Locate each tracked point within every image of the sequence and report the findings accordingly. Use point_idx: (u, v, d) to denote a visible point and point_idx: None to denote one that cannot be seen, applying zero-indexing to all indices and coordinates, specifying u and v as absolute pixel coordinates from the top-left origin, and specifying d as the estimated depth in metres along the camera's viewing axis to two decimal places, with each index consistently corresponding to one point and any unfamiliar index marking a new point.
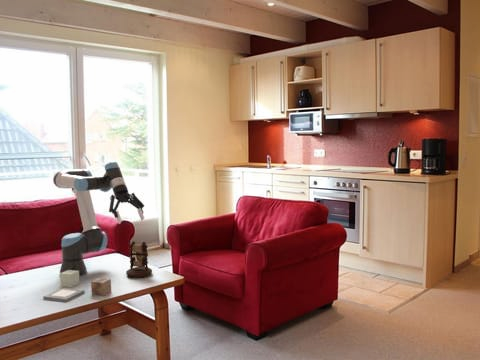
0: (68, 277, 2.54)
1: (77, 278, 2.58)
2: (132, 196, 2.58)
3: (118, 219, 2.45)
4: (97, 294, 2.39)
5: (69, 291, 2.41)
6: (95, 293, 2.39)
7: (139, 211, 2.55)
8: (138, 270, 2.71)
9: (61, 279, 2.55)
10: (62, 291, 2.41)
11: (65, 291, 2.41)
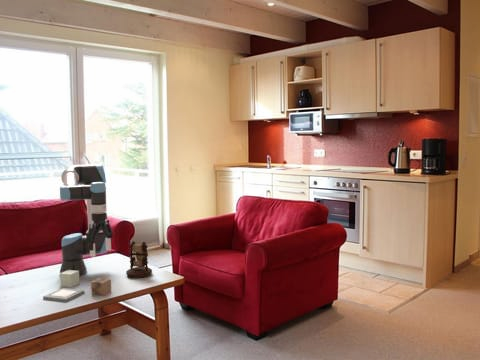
0: (68, 277, 2.54)
1: (77, 278, 2.58)
2: (106, 223, 2.44)
3: (92, 252, 2.34)
4: (97, 294, 2.39)
5: (69, 291, 2.41)
6: (95, 293, 2.39)
7: (108, 241, 2.46)
8: (138, 270, 2.71)
9: (61, 279, 2.55)
10: (62, 291, 2.41)
11: (65, 291, 2.41)
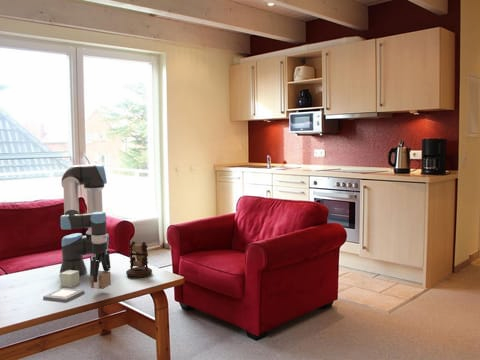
0: (68, 277, 2.54)
1: (77, 278, 2.58)
2: (106, 254, 2.45)
3: (96, 284, 2.38)
4: None
5: (69, 291, 2.41)
6: None
7: None
8: (138, 270, 2.71)
9: (61, 279, 2.55)
10: (62, 291, 2.41)
11: (65, 291, 2.41)
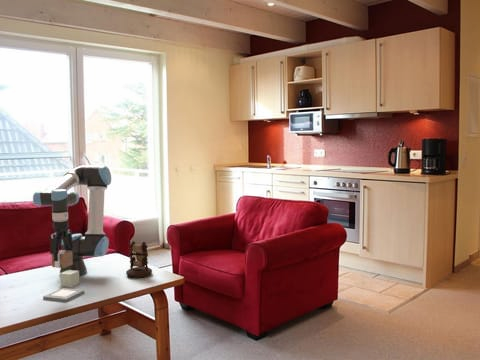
0: (68, 277, 2.54)
1: (77, 278, 2.58)
2: (68, 233, 2.40)
3: (56, 263, 2.33)
4: None
5: (69, 291, 2.41)
6: None
7: None
8: (138, 270, 2.71)
9: (61, 279, 2.55)
10: (62, 291, 2.41)
11: (65, 291, 2.41)
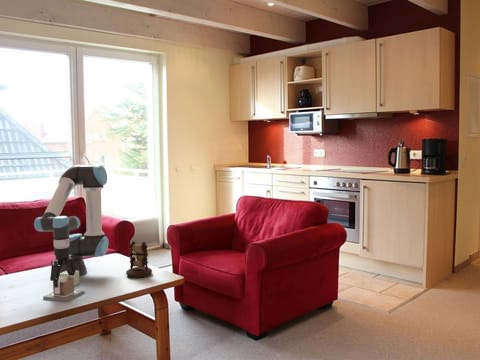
0: None
1: (77, 278, 2.58)
2: (70, 258, 2.42)
3: (57, 289, 2.34)
4: (59, 294, 2.35)
5: None
6: None
7: None
8: (138, 270, 2.71)
9: None
10: None
11: None
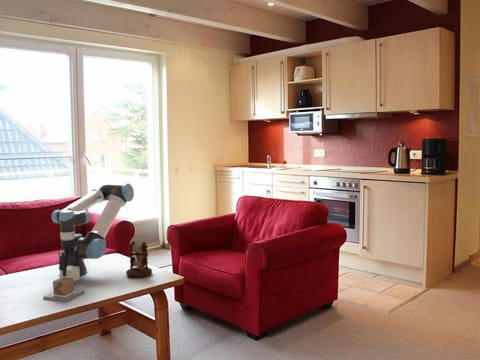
0: (68, 273, 2.54)
1: (77, 274, 2.58)
2: (75, 250, 2.61)
3: None
4: (59, 294, 2.35)
5: None
6: (57, 293, 2.36)
7: None
8: (138, 270, 2.71)
9: (61, 275, 2.56)
10: None
11: None
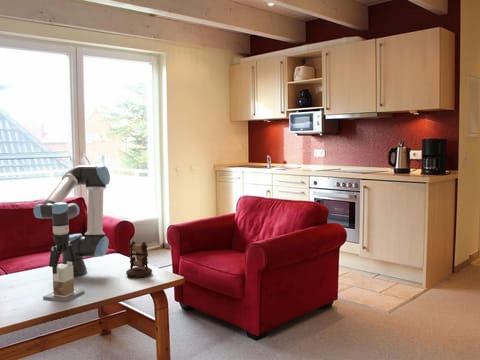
0: (61, 271, 2.34)
1: (71, 273, 2.38)
2: (69, 245, 2.41)
3: (55, 276, 2.33)
4: (59, 294, 2.35)
5: None
6: (57, 293, 2.36)
7: (69, 264, 2.42)
8: (138, 270, 2.71)
9: None
10: None
11: None
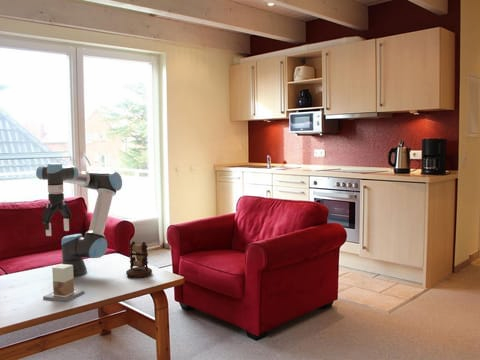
0: (61, 271, 2.34)
1: (71, 273, 2.38)
2: (64, 204, 2.49)
3: (48, 232, 2.38)
4: (59, 294, 2.35)
5: None
6: (57, 293, 2.36)
7: (66, 221, 2.51)
8: (138, 270, 2.71)
9: (53, 274, 2.35)
10: None
11: None
